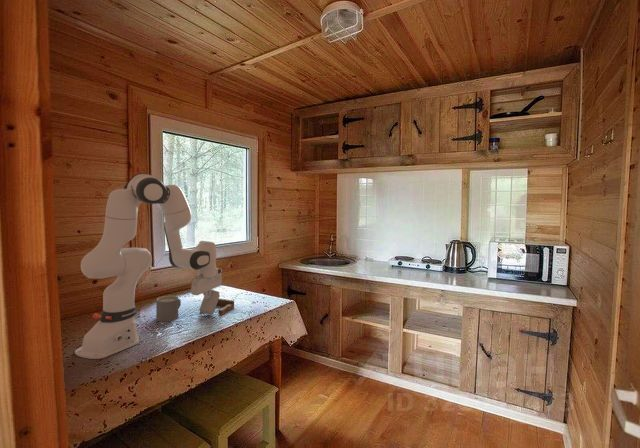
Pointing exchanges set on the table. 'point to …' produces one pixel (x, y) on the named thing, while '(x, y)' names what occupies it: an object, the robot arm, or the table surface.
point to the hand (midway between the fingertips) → (207, 298)
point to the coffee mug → (167, 308)
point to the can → (210, 303)
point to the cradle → (224, 305)
